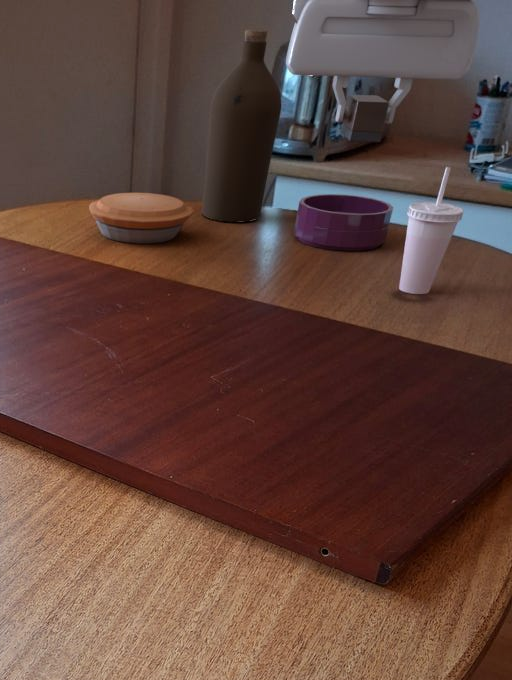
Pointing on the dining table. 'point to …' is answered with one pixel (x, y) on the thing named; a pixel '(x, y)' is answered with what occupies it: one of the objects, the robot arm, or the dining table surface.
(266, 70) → the olive oil
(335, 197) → the bowl
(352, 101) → the eraser
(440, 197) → the smoothie
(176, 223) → the pie
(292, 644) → the dining table surface
